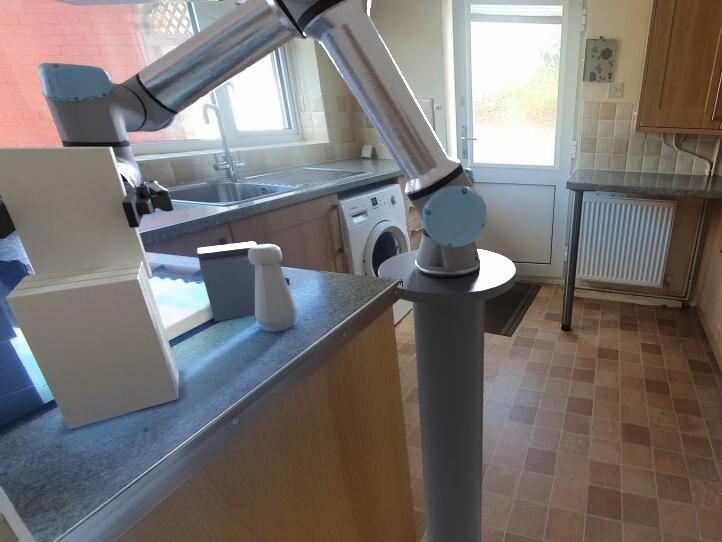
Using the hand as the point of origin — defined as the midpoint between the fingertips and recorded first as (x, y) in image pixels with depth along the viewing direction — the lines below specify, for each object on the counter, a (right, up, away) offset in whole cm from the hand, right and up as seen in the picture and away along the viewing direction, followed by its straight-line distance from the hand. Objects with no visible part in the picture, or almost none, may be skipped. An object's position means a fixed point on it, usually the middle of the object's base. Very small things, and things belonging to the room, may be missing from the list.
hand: (66, 219), depth 41 cm
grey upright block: (-1, -10, +29) cm, 30 cm away
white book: (-3, -6, +7) cm, 10 cm away
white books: (0, -19, +6) cm, 21 cm away
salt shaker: (+8, -13, +23) cm, 28 cm away
